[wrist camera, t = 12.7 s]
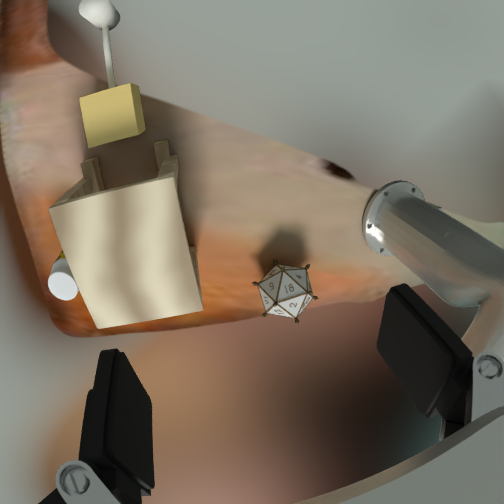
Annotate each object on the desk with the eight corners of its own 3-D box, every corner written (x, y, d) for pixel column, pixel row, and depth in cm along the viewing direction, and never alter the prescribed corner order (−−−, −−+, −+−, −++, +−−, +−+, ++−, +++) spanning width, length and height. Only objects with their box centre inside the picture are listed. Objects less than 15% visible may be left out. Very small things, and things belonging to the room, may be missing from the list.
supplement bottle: (68, 232, 36) (46, 263, 29) (99, 242, 38) (83, 275, 30) (63, 262, 38) (43, 296, 30) (92, 271, 39) (78, 308, 32)
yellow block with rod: (129, 4, 25) (118, -15, 19) (145, 129, 33) (137, 135, 27) (85, 16, 24) (67, 2, 18) (102, 140, 32) (85, 149, 26)
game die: (276, 252, 49) (326, 249, 41) (290, 302, 50) (339, 307, 42) (231, 273, 43) (279, 274, 35) (248, 327, 45) (297, 338, 37)
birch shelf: (173, 138, 34) (168, 153, 24) (196, 255, 42) (203, 310, 31) (81, 161, 32) (42, 188, 22) (114, 272, 40) (98, 328, 30)
